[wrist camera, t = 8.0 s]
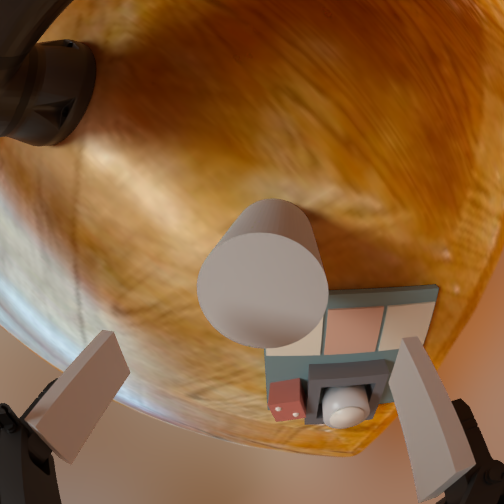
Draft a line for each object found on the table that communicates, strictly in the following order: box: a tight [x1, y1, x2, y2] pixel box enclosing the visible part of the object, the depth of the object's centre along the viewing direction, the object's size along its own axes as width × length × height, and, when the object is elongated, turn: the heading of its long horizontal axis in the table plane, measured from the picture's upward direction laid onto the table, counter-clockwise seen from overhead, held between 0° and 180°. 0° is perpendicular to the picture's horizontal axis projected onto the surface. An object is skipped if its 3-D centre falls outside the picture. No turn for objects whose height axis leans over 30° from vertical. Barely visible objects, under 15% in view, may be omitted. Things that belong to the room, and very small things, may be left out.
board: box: [264, 284, 439, 424], centre depth 30 cm, size 21×20×4 cm
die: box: [268, 378, 306, 422], centre depth 32 cm, size 4×4×4 cm
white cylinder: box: [197, 199, 329, 348], centre depth 22 cm, size 8×8×12 cm
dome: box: [322, 384, 370, 429], centre depth 29 cm, size 6×6×4 cm
